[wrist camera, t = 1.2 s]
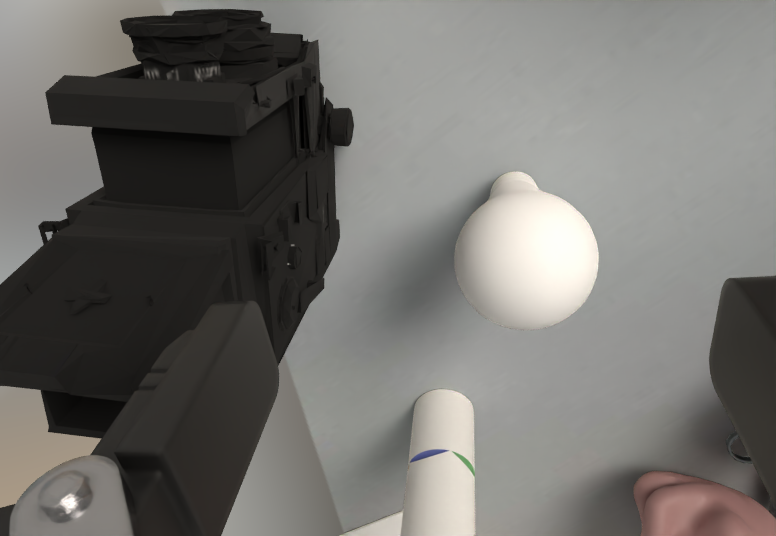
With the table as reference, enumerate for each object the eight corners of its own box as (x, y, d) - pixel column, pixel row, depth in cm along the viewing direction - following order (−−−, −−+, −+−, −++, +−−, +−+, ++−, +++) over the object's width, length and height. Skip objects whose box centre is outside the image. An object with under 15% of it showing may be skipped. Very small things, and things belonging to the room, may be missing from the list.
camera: (357, 6, 28) (147, 80, 11) (359, 253, 35) (229, 554, 17) (166, 0, 29) (-309, 58, 12) (202, 239, 36) (-71, 508, 18)
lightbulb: (582, 216, 32) (627, 339, 23) (477, 248, 34) (480, 373, 25) (553, 116, 29) (591, 209, 20) (441, 156, 31) (430, 258, 22)
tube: (463, 438, 43) (461, 660, 30) (407, 423, 42) (382, 639, 30) (482, 398, 40) (488, 620, 28) (423, 382, 40) (402, 598, 27)
